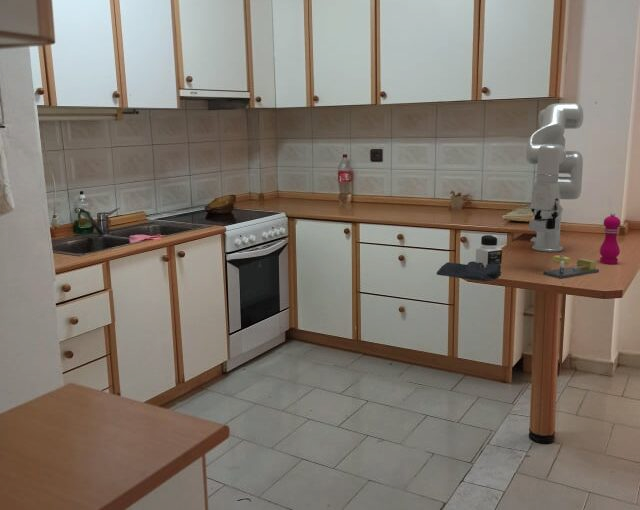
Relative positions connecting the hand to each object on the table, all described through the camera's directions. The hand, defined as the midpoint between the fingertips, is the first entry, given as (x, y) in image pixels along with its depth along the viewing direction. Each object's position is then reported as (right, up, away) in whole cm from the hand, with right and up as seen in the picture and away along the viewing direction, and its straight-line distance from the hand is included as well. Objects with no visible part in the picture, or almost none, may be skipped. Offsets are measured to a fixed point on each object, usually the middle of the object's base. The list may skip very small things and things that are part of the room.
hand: (544, 227), depth 240 cm
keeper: (+8, -17, -4) cm, 19 cm away
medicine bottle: (-19, -15, +8) cm, 25 cm away
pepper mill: (+30, -14, +13) cm, 35 cm away
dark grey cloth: (-29, -18, -4) cm, 34 cm away
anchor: (+12, -13, +15) cm, 23 cm away
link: (0, -1, 0) cm, 1 cm away
